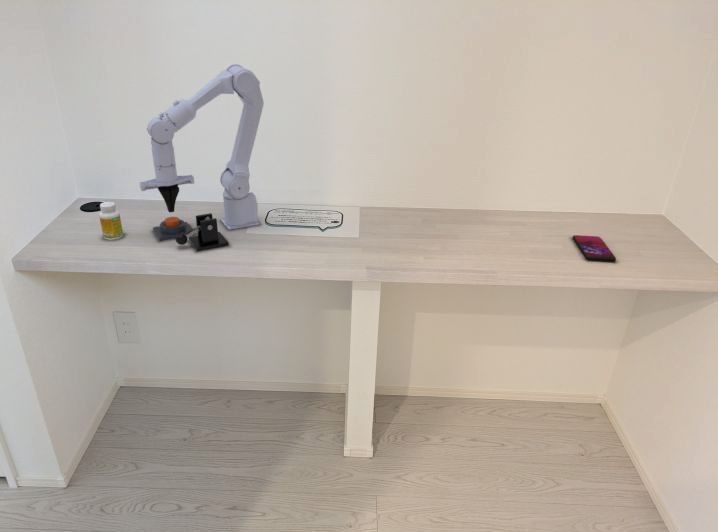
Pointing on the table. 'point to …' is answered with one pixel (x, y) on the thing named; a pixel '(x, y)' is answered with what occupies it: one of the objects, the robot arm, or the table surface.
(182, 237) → the switch lever
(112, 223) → the supplement bottle
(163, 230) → the button box
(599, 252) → the smartphone
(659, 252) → the table surface
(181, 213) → the table surface
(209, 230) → the switch bracket
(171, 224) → the button
